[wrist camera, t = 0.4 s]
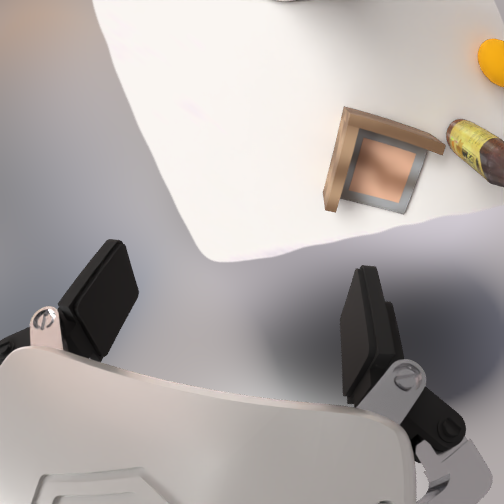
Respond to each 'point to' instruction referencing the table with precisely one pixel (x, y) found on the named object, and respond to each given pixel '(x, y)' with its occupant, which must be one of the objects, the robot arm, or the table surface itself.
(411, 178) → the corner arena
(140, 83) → the table surface
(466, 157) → the sauce bottle
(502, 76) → the mandarin orange
